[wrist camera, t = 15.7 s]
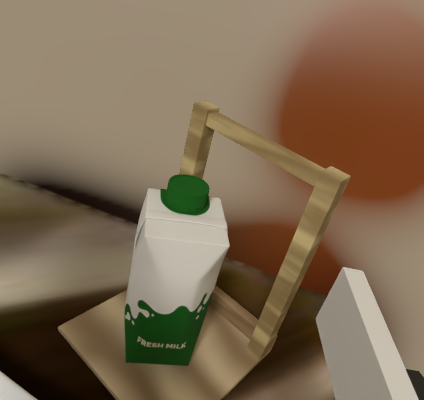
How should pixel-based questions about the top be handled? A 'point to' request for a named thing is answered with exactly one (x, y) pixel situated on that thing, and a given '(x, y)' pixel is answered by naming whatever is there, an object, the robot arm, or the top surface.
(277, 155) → the wooden frame stand
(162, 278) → the fresh milk carton
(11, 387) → the salad plate
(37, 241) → the top surface
